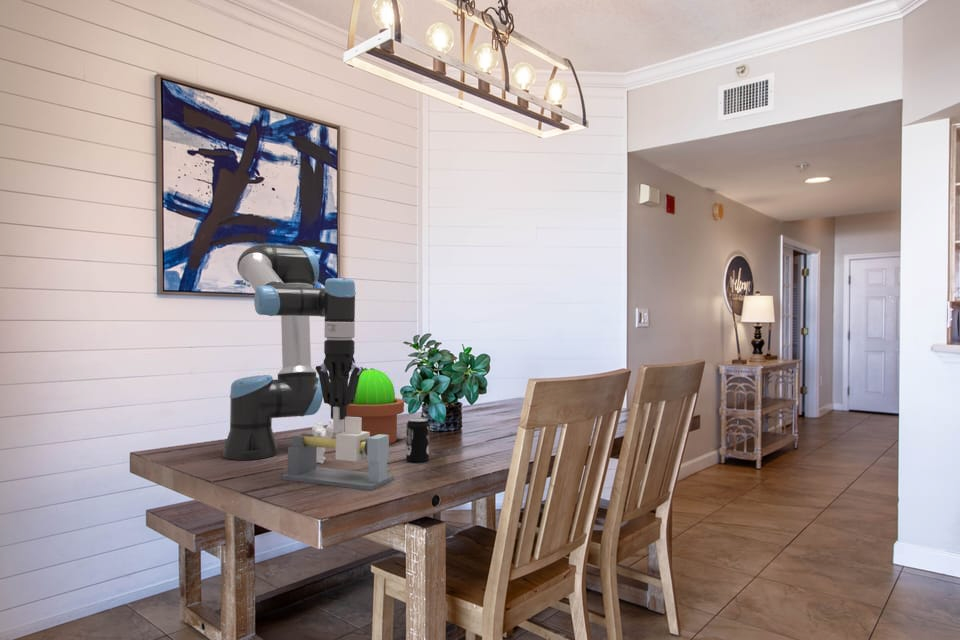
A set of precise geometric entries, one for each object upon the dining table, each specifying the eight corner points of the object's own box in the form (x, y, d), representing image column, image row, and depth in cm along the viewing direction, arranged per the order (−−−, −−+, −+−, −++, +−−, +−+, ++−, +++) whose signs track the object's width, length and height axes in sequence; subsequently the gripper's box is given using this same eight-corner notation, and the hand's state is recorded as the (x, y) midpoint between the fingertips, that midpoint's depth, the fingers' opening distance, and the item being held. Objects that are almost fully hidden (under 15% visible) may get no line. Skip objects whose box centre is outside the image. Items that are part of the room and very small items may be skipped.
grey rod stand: (282, 479, 154) (282, 432, 154) (308, 469, 164) (309, 426, 165) (371, 490, 145) (372, 441, 145) (393, 479, 155) (394, 433, 155)
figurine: (339, 462, 173) (339, 420, 173) (324, 465, 169) (324, 422, 169) (316, 457, 180) (317, 416, 180) (302, 460, 176) (302, 418, 176)
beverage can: (425, 463, 173) (425, 421, 173) (403, 462, 174) (403, 420, 174) (431, 458, 179) (432, 418, 179) (410, 457, 181) (410, 417, 181)
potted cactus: (399, 448, 193) (400, 369, 193) (330, 448, 193) (331, 369, 193) (406, 435, 215) (407, 365, 215) (344, 435, 215) (345, 364, 215)
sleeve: (335, 459, 151) (336, 418, 151) (349, 454, 157) (349, 414, 157) (356, 461, 149) (356, 419, 149) (369, 456, 155) (370, 416, 155)
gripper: (309, 339, 154) (307, 432, 153) (353, 339, 149) (352, 436, 149) (326, 338, 161) (325, 428, 160) (369, 339, 156) (368, 431, 156)
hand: (338, 431), depth 155 cm, fingers closed
